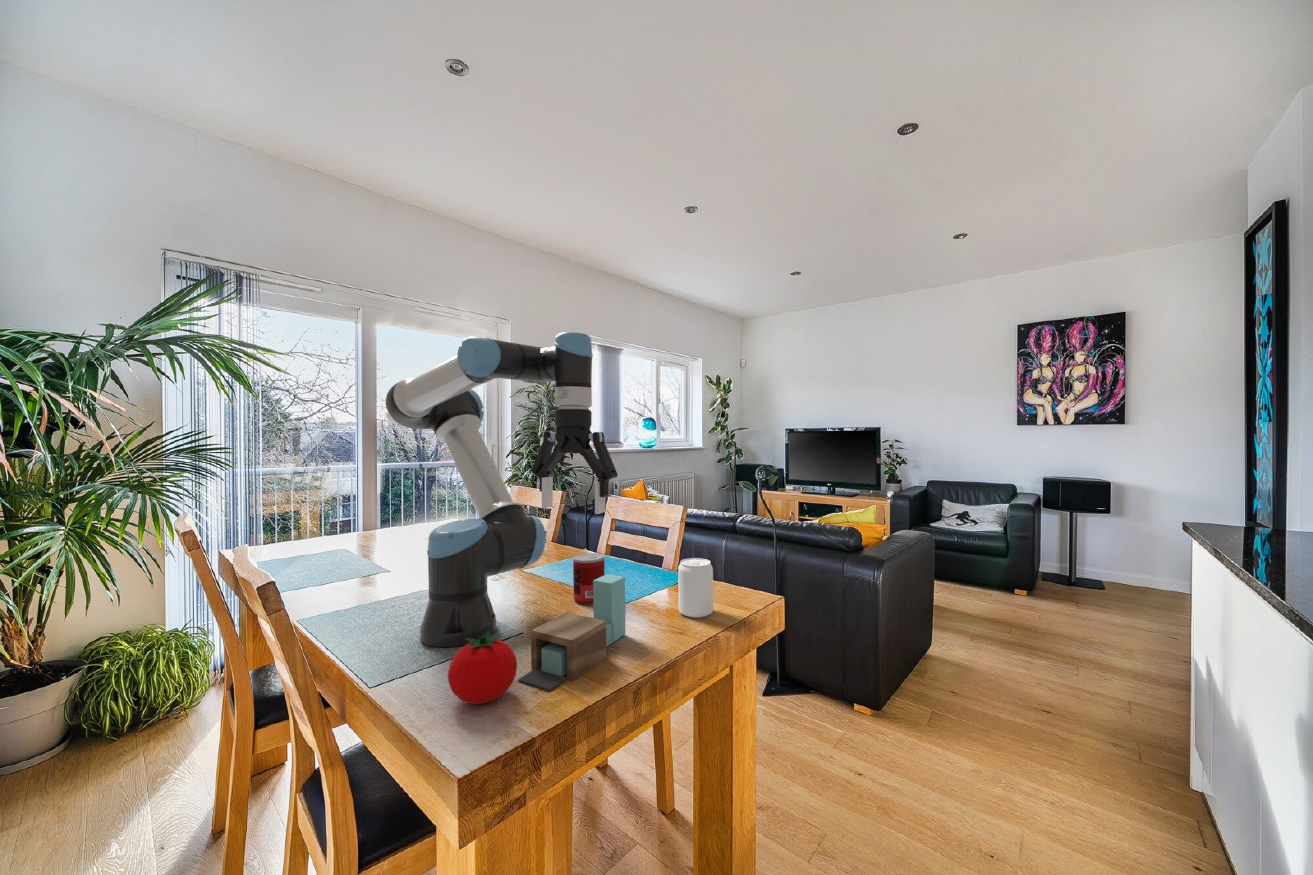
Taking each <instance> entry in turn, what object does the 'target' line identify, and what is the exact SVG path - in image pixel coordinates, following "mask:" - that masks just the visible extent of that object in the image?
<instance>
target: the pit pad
mask: <svg viewBox="0 0 1313 875" xmlns="http://www.w3.org/2000/svg"><path fill="white" fill-rule="evenodd" d="M517 682H519V683H521V684H525V685H527V686H531V687H534V688H538V689H540V690H543V691H546V692H549V693H550V692H552V690H554V689H556V688H557V687H559V686H560V685H562V684H563V683H564V682H566V678H565V677H563V676H562V677H561V676H557V675H554V674H551V673H547V672H544V671H542V670H539V669H538V670H535V669H534V670H533V669H532V670H531V671H529V672H528V673H526V674H524V675H523V676H521V677H520V678H518V679H517Z"/></svg>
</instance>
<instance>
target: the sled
mask: <svg viewBox="0 0 1313 875" xmlns="http://www.w3.org/2000/svg"><path fill="white" fill-rule="evenodd" d="M592 605H593V606H592V607H593V618H596V619H600V620H605V621H606V648H607V647H608V646H610V645H611V644H613V643H615V642H616V641H617V640H619V639H620V638H621V637H623V636H625V635H626V577H625V576H622V575H614V574H608V573H607V574H605V575H604V576H602V577H600V578H598V579H595V580H593V604H592ZM541 671H542V672H545V673H548V674H552V675H555V676H558V677H562V678H563V676H565V675H567V646H565V645H561V644H557V643H553V642H552V643H550V644H549V645H547V646H545V647H543V648H542V667H541Z"/></svg>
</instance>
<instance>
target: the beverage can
mask: <svg viewBox="0 0 1313 875" xmlns="http://www.w3.org/2000/svg"><path fill="white" fill-rule="evenodd" d="M711 563H712V562H711V560H709V559H705V558H701V557H690V558H684V559H681V560H680V562H679V565H678V568H677V570H678V571H677V572H678V573H677V575H678V578H677V579H678V580H677V581H678V583H677V584H678V586H677V589H678V592H677V593H678V612H679V613H680V614H682V615H684V616H685V617H688V618H695V619H697V618H699V619H701V618H705V617H708V616H710V615H711V614H712V613H713V612H714V568H713V566H712V564H711Z"/></svg>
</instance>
